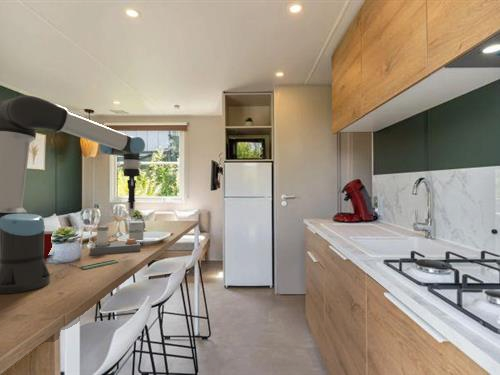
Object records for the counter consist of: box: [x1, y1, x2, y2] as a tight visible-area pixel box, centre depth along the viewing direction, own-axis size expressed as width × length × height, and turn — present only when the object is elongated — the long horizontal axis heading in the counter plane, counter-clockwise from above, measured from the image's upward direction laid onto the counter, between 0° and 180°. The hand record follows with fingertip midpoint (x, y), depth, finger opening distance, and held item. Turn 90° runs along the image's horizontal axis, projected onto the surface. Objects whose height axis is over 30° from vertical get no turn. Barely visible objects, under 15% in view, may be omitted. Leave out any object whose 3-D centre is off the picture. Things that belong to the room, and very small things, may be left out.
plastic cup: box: [44, 230, 55, 260], centre depth 136 cm, size 11×11×12 cm
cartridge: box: [96, 225, 109, 247], centre depth 144 cm, size 5×5×12 cm
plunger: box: [126, 238, 136, 244], centre depth 150 cm, size 4×4×4 cm
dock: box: [89, 240, 141, 256], centre depth 147 cm, size 22×12×4 cm, turn 114°
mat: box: [69, 259, 119, 271], centre depth 126 cm, size 14×14×1 cm
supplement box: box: [128, 220, 145, 241], centre depth 169 cm, size 7×7×13 cm
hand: (131, 214), depth 149 cm, fingers open, 2 cm apart
